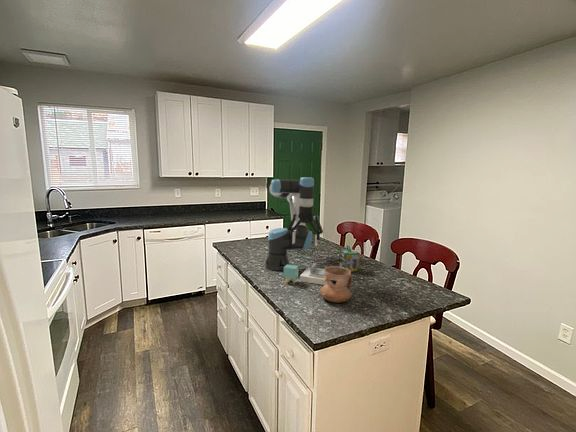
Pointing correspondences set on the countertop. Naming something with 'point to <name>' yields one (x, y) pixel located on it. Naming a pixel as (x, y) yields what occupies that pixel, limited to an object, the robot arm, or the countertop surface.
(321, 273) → the clear glass piece
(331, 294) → the ceramic jug
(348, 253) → the chalk box
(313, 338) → the countertop surface
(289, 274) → the teal block figurine
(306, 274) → the socket
